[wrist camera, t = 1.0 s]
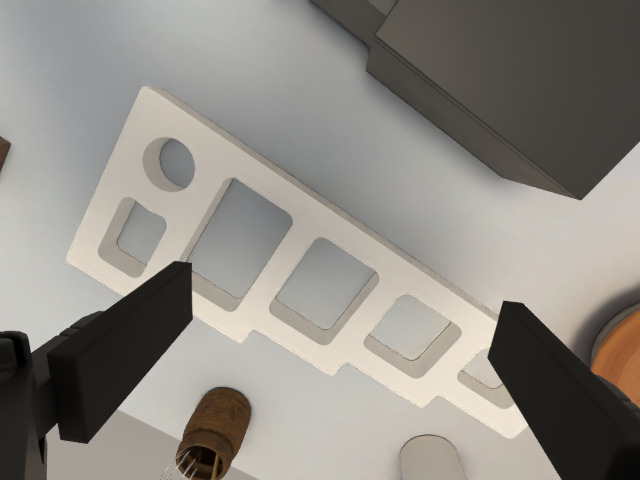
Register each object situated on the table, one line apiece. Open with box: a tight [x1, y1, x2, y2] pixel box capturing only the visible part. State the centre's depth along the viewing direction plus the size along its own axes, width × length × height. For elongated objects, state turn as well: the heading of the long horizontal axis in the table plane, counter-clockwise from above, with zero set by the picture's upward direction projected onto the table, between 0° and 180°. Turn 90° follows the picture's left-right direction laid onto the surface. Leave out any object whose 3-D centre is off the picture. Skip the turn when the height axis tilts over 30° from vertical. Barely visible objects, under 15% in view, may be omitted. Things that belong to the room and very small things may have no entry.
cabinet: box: [366, 0, 640, 200], centre depth 22 cm, size 15×12×11 cm
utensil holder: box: [161, 388, 251, 480], centre depth 34 cm, size 6×6×12 cm
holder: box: [66, 86, 528, 439], centre depth 33 cm, size 45×18×3 cm, turn 56°
